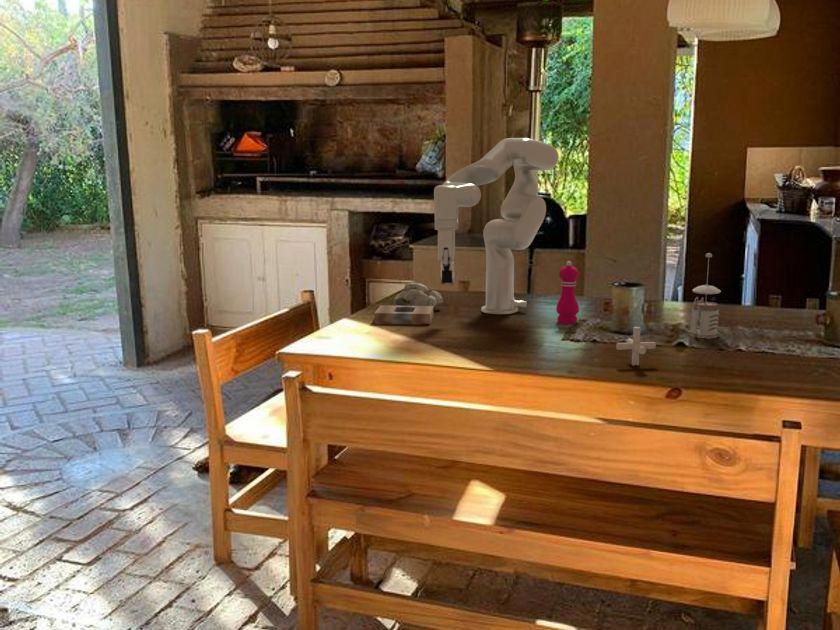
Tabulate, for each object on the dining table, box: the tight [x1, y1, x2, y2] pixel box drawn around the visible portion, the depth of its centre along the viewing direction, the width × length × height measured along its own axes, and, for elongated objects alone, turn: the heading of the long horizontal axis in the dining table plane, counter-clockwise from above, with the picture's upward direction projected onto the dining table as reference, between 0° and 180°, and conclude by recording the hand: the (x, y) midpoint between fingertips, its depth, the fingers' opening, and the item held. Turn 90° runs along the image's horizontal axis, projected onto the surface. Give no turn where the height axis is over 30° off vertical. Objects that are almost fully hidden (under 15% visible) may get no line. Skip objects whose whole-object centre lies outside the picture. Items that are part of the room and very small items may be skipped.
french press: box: [689, 252, 722, 335], centre depth 247 cm, size 10×12×25 cm
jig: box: [374, 304, 435, 325], centre depth 273 cm, size 18×13×4 cm
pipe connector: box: [615, 326, 657, 366], centre depth 217 cm, size 10×10×10 cm
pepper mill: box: [555, 260, 580, 325], centre depth 267 cm, size 7×7×20 cm
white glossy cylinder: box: [439, 260, 455, 286], centre depth 266 cm, size 4×4×7 cm
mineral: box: [393, 282, 444, 307], centre depth 291 cm, size 12×17×10 cm
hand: (447, 280), depth 266 cm, fingers closed on white glossy cylinder, 4 cm apart
